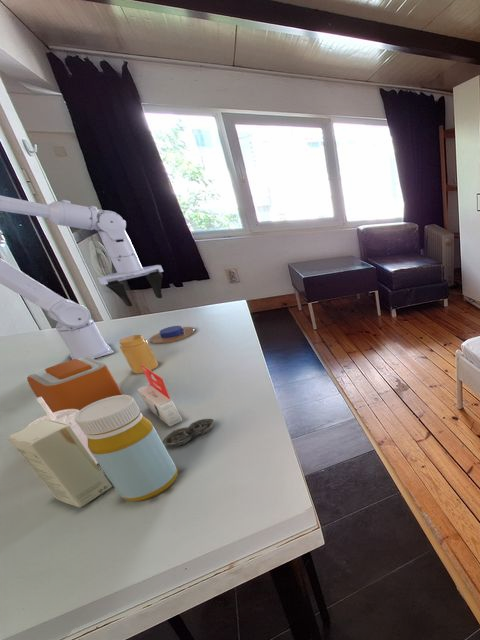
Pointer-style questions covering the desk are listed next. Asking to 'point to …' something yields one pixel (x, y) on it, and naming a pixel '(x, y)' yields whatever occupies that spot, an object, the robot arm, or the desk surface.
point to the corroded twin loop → (188, 432)
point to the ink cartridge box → (159, 399)
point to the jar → (138, 353)
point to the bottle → (127, 447)
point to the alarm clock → (74, 384)
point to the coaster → (159, 339)
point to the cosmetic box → (60, 462)
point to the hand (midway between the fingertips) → (144, 301)
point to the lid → (171, 331)
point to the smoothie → (66, 418)
